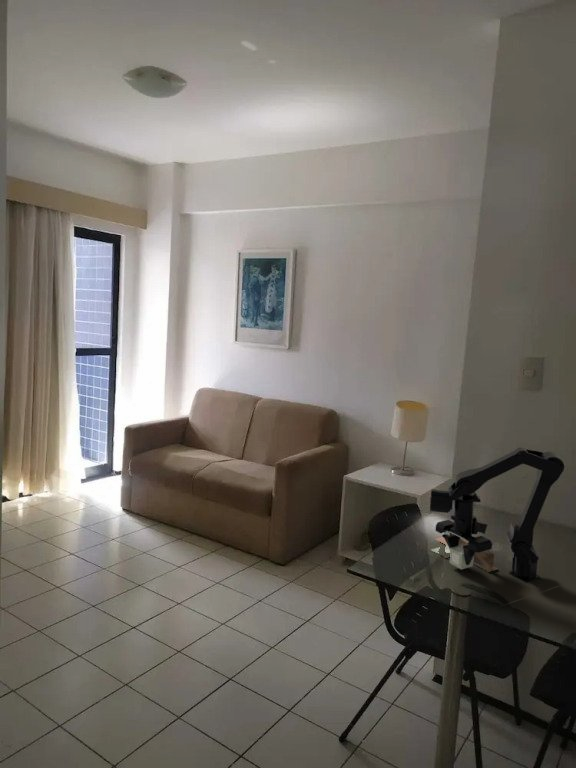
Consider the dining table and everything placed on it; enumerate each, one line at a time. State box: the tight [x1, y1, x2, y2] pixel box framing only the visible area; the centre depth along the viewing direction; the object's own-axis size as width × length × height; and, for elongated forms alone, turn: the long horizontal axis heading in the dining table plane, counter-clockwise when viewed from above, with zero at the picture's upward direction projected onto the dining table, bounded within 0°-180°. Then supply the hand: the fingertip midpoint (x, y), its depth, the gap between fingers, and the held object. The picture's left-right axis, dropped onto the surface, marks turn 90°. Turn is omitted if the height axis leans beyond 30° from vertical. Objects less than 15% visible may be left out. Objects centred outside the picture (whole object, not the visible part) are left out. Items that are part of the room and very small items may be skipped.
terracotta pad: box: [434, 536, 448, 546], centre depth 200 cm, size 7×7×1 cm
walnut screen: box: [458, 538, 499, 572], centre depth 184 cm, size 14×4×6 cm, turn 28°
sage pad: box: [431, 545, 450, 555], centre depth 191 cm, size 7×7×1 cm
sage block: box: [449, 545, 474, 570], centre depth 179 cm, size 5×5×5 cm
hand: (461, 561), depth 179 cm, fingers closed on sage block, 5 cm apart
